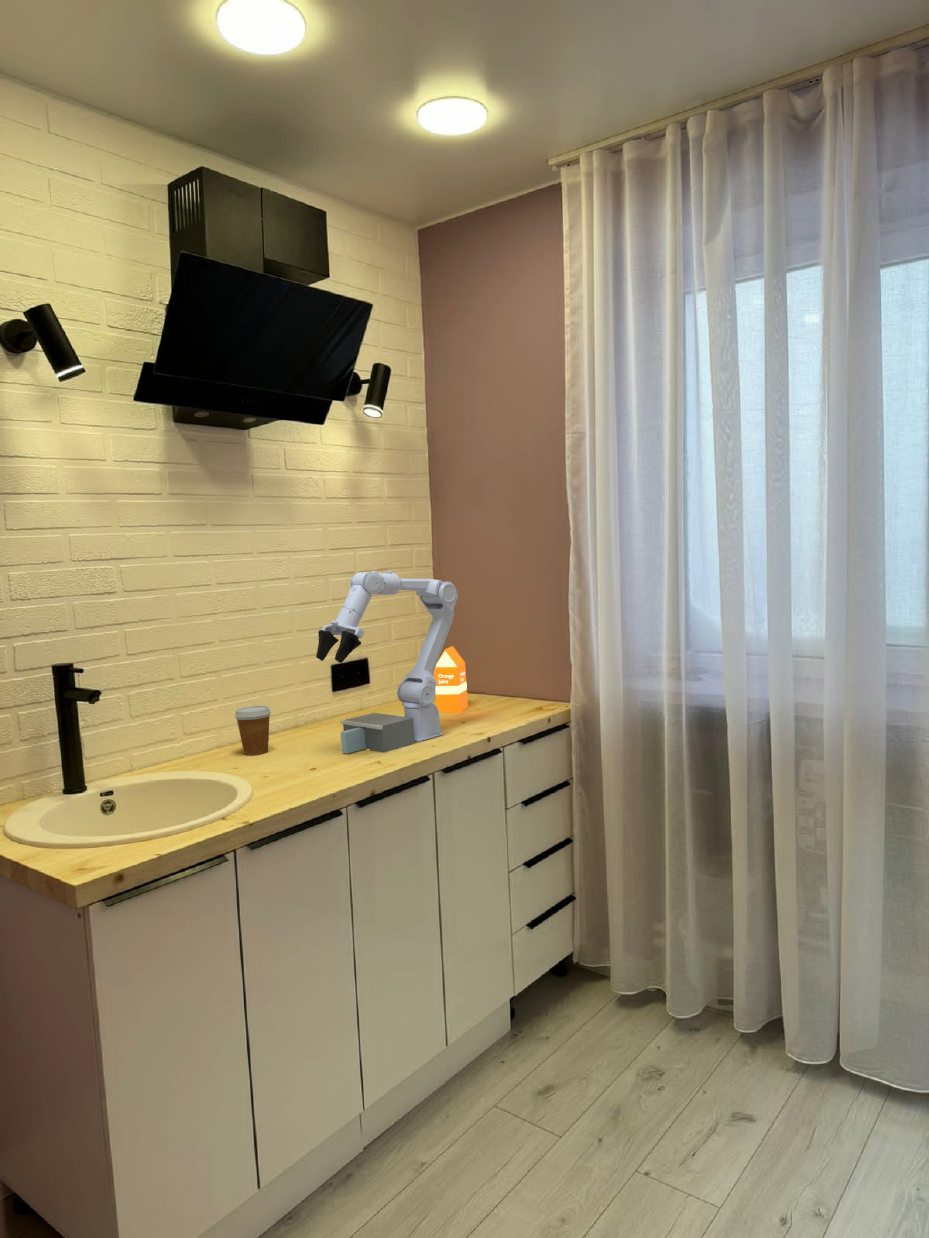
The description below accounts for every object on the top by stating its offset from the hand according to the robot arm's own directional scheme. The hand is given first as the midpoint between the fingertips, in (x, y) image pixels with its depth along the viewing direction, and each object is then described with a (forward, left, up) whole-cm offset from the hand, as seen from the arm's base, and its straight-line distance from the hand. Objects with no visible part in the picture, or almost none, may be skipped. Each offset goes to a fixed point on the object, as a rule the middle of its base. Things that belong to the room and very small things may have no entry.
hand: (328, 660), depth 219 cm
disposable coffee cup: (+6, -27, -26) cm, 38 cm away
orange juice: (-61, -18, -26) cm, 68 cm away
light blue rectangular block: (-12, -3, -25) cm, 28 cm away
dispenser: (-17, -3, -26) cm, 31 cm away
